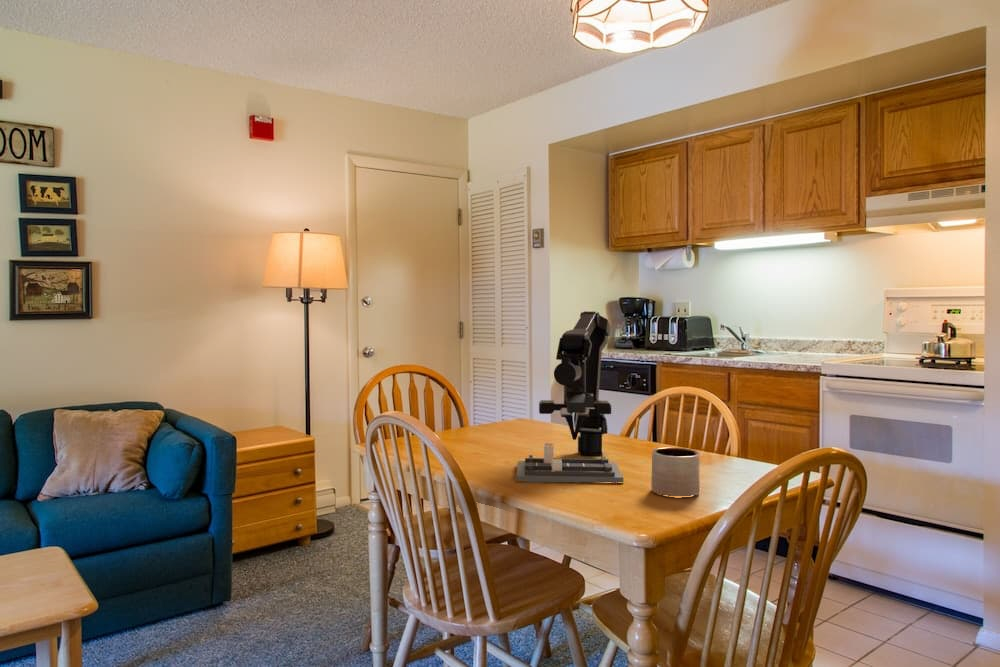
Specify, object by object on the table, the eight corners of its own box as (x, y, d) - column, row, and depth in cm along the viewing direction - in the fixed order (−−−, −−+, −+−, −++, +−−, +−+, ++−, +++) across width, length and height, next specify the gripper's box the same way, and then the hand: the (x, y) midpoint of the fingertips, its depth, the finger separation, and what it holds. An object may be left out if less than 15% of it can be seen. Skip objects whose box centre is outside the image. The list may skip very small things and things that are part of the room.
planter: (653, 498, 153) (653, 456, 153) (649, 485, 164) (649, 446, 163) (702, 500, 152) (703, 457, 151) (695, 487, 162) (696, 447, 162)
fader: (552, 462, 180) (552, 442, 179) (553, 465, 176) (553, 445, 176) (543, 462, 180) (543, 442, 179) (544, 465, 176) (544, 445, 176)
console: (615, 467, 181) (615, 451, 181) (623, 483, 165) (623, 465, 165) (517, 466, 182) (517, 449, 182) (516, 482, 166) (516, 463, 166)
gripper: (539, 384, 171) (539, 446, 172) (614, 385, 170) (613, 446, 171) (539, 379, 182) (538, 436, 183) (608, 379, 181) (608, 437, 182)
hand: (574, 439), depth 180 cm, fingers closed
